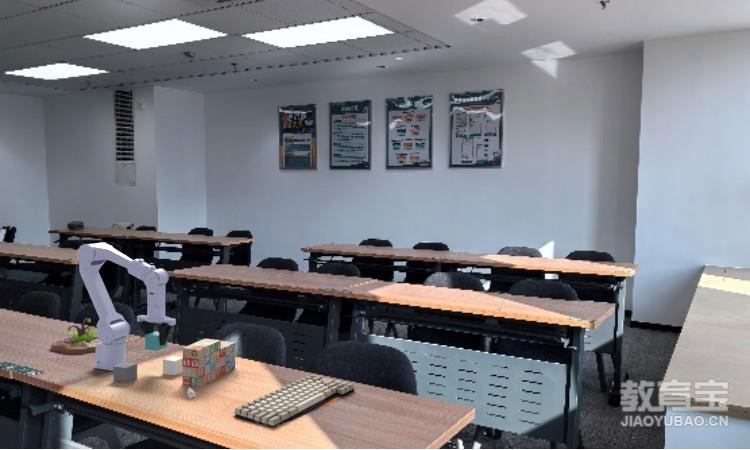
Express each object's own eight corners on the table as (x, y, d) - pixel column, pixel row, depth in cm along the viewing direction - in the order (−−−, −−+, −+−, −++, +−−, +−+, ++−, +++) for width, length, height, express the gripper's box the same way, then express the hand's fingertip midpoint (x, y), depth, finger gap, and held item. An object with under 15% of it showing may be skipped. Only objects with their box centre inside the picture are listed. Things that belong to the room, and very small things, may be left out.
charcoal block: (113, 381, 183) (113, 366, 183) (124, 376, 188) (124, 361, 188) (126, 383, 182) (126, 368, 181) (137, 378, 186) (137, 363, 186)
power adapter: (185, 397, 171) (185, 387, 171) (194, 396, 173) (194, 385, 173) (189, 400, 169) (189, 390, 169) (198, 398, 171) (198, 388, 170)
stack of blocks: (220, 366, 202) (220, 332, 201) (235, 368, 200) (235, 333, 199) (182, 384, 181) (182, 347, 181) (198, 387, 180) (198, 349, 179)
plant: (122, 345, 226) (122, 317, 226) (77, 357, 209) (77, 327, 208) (89, 338, 235) (89, 311, 235) (43, 349, 218) (43, 320, 217)
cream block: (162, 374, 192) (162, 359, 191) (172, 369, 196) (172, 355, 196) (175, 375, 190) (175, 361, 190) (184, 371, 195) (184, 357, 194)
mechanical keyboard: (281, 434, 148) (281, 421, 148) (228, 418, 157) (228, 406, 157) (357, 392, 180) (357, 382, 180) (309, 381, 190) (309, 371, 190)
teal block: (145, 349, 192) (145, 334, 192) (155, 345, 197) (155, 331, 197) (157, 350, 191) (157, 336, 190) (167, 347, 195) (167, 332, 195)
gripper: (130, 304, 191) (130, 344, 192) (166, 308, 187) (165, 349, 188) (145, 301, 198) (145, 339, 199) (179, 304, 194) (179, 344, 194)
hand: (156, 344), depth 194 cm, fingers closed on teal block, 5 cm apart
